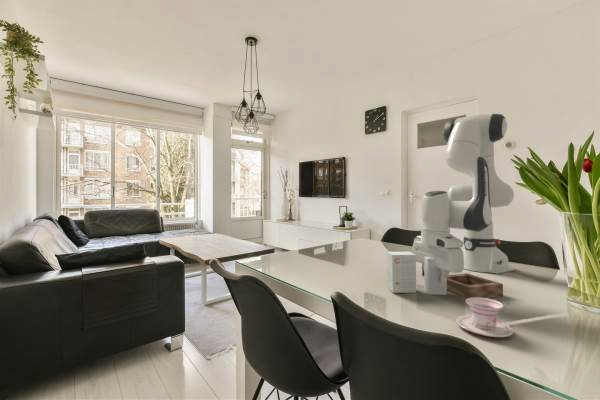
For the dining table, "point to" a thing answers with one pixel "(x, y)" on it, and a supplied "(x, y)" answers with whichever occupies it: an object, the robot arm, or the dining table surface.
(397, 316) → the dining table surface
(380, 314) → the dining table surface
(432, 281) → the skincare box
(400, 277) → the small box
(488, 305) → the teacup
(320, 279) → the dining table surface
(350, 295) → the dining table surface
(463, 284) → the wooden tray
